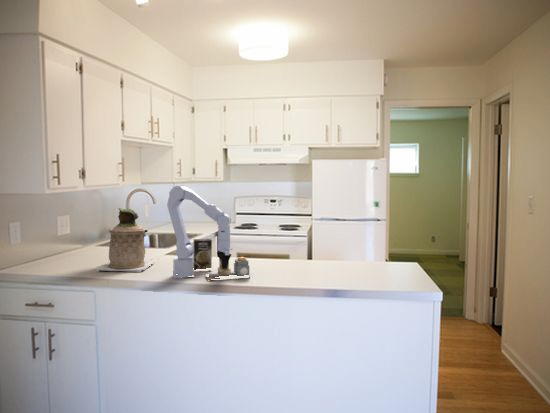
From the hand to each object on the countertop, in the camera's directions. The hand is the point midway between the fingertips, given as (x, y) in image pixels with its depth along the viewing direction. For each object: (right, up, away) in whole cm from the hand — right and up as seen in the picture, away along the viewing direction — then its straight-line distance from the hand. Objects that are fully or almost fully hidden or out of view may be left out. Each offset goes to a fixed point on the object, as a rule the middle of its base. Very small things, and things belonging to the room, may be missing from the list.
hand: (224, 267), depth 196 cm
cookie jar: (-54, -3, +21) cm, 58 cm away
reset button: (+8, +2, +3) cm, 9 cm away
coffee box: (-13, -4, +16) cm, 21 cm away
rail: (-1, -5, 0) cm, 5 cm away
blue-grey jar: (+8, -4, +3) cm, 10 cm away
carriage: (0, -3, 0) cm, 3 cm away
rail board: (+1, -5, +2) cm, 5 cm away
